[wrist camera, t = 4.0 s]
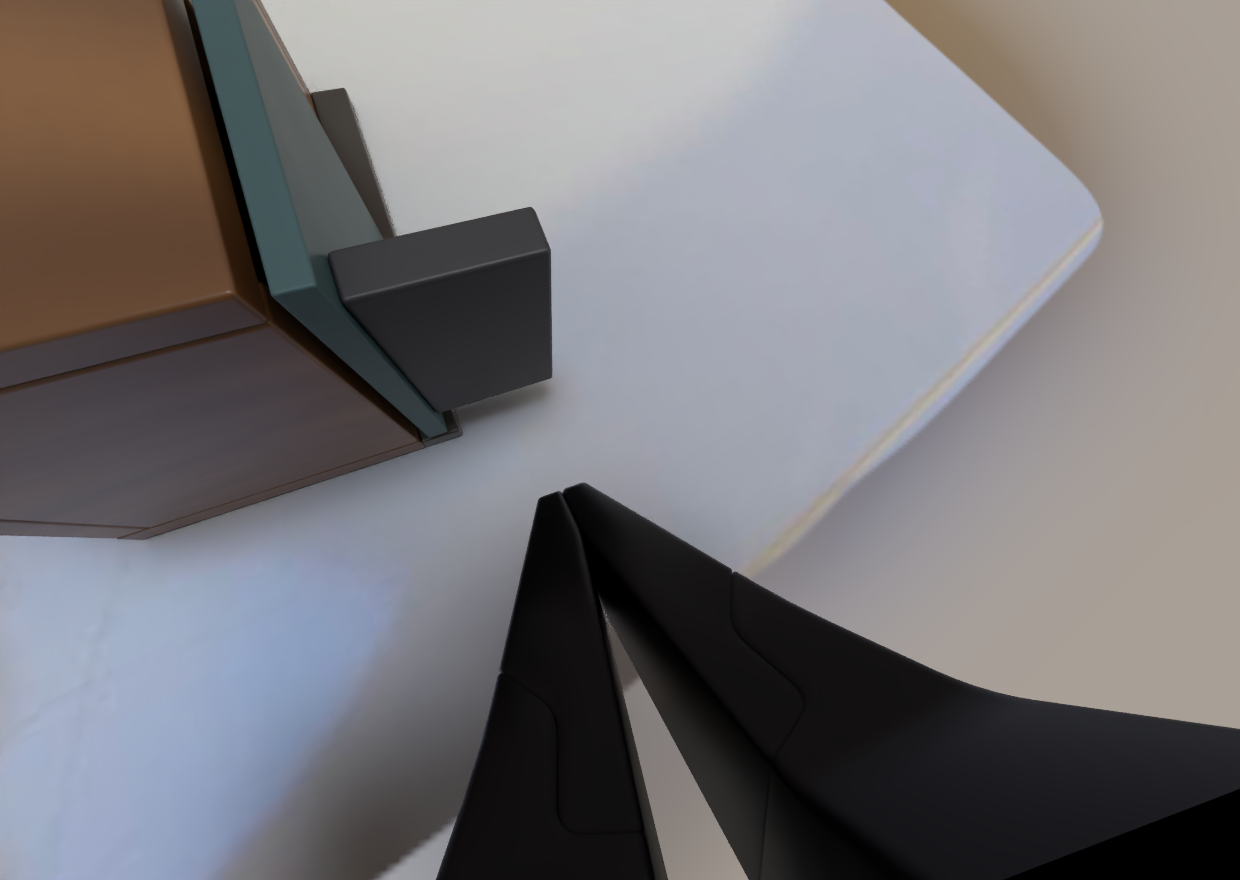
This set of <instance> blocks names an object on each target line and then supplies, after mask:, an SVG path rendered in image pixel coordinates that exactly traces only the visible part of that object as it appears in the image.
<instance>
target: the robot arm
mask: <svg viewBox="0 0 1240 880" xmlns="http://www.w3.org/2000/svg"><path fill="white" fill-rule="evenodd" d="M600 601H601V602H600ZM601 604H602V606H603V608H604V610H605V612H606V614H607V616H608V618H609V620H610V622H611V624H612V626H613V628H614V630H615V632H616V633H617V635H618V637H619V639H620V641H621V643H622V645H623V646H624V648H625V650H626V652H627V654H628V656H629V658H630V659H631V661H632V663H633V665H634V667H635V669H636V671H637V673H638V674H639V676H640V678H641V680H642V682H643V684H644V686H645V687H646V689H647V691H648V693H649V695H650V697H651V698H652V700H653V702H654V704H655V706H656V708H657V710H658V711H659V713H660V715H661V717H662V719H663V721H664V723H665V724H666V726H667V728H668V730H669V732H670V734H671V736H672V738H673V739H674V741H675V743H676V745H677V747H678V749H679V751H680V753H681V754H682V756H683V758H684V760H685V762H686V764H687V765H688V767H689V769H690V771H691V773H692V775H693V776H694V779H695V780H696V782H697V784H698V786H699V788H700V790H701V792H702V793H703V795H704V797H705V799H706V801H707V803H708V805H709V806H710V808H711V810H712V812H713V814H714V816H715V818H716V819H717V821H718V823H719V825H720V827H721V829H722V830H723V833H724V834H725V836H726V838H727V840H728V842H729V844H730V845H731V847H732V849H733V851H734V853H735V855H736V856H737V859H738V860H739V862H740V864H741V866H742V868H743V870H744V871H745V873H746V875H747V877H748V879H749V880H1240V729H1236V728H1228V727H1221V726H1214V725H1207V724H1200V723H1193V722H1186V721H1179V720H1172V719H1165V718H1158V717H1151V716H1143V715H1137V714H1130V713H1123V712H1116V711H1109V710H1101V709H1095V708H1087V707H1080V706H1073V705H1066V704H1059V703H1052V702H1045V701H1038V700H1031V699H1025V698H1019V697H1015V696H1010V695H1006V694H1002V693H997V692H994V691H990V690H987V689H984V688H980V687H977V686H974V685H971V684H968V683H965V682H963V681H960V680H957V679H954V678H952V677H950V676H947V675H945V674H942V673H940V672H938V671H935V670H933V669H931V668H929V667H927V666H925V665H922V664H920V663H918V662H916V661H914V660H912V659H909V658H907V657H905V656H903V655H901V654H899V653H896V652H894V651H892V650H890V649H888V648H886V647H884V646H881V645H879V644H877V643H875V642H873V641H871V640H868V639H866V638H864V637H862V636H860V635H857V634H855V633H853V632H851V631H849V630H847V629H844V628H842V627H840V626H838V625H836V624H834V623H831V622H829V621H827V620H825V619H823V618H821V617H819V616H817V615H815V614H813V613H811V612H809V611H807V610H805V609H803V608H801V607H799V606H797V605H795V604H793V603H791V602H789V601H787V600H785V599H783V598H781V597H780V596H778V595H776V594H774V593H773V592H771V591H769V590H767V589H765V588H763V587H762V586H760V585H758V584H756V583H755V582H753V581H751V580H750V579H748V578H746V577H744V576H743V575H741V574H739V573H738V572H733V573H732V570H731V568H729V567H727V566H726V565H724V564H722V563H720V562H719V561H717V560H715V559H714V558H712V557H710V556H709V555H707V554H705V553H703V552H702V551H700V550H698V549H697V548H695V547H693V546H692V545H690V544H688V543H686V542H685V541H683V540H681V539H680V538H678V537H676V536H675V535H673V534H671V533H670V532H668V531H666V530H664V529H663V528H661V527H659V526H658V525H656V524H654V523H653V522H651V521H649V520H647V519H646V518H644V517H642V516H641V515H639V514H637V513H636V512H634V511H632V510H630V509H629V508H627V507H625V506H624V505H622V504H620V503H619V502H617V501H615V500H614V499H612V498H610V497H608V496H607V495H605V494H603V493H602V492H600V491H598V490H597V489H595V488H593V487H591V486H590V485H588V484H586V483H580V484H577V485H574V486H571V487H568V488H566V489H564V490H563V493H562V492H560V491H557V492H554V493H551V494H549V495H546V496H543V497H541V498H539V500H538V503H537V507H536V512H535V516H534V520H533V525H532V529H531V533H530V538H529V542H528V547H527V551H526V555H525V560H524V564H523V568H522V573H521V577H520V582H519V586H518V590H517V595H516V599H515V603H514V608H513V612H512V616H511V621H510V625H509V630H508V634H507V638H506V643H505V647H504V651H503V656H502V660H501V665H500V674H499V675H498V677H497V681H496V685H495V690H494V694H493V698H492V703H491V707H490V711H489V714H488V718H487V722H486V726H485V730H484V733H483V737H482V741H481V745H480V749H479V752H478V755H477V758H476V761H475V764H474V768H473V771H472V774H471V777H470V780H469V783H468V786H467V790H466V793H465V796H464V799H463V802H462V805H461V808H460V811H459V814H458V817H457V820H456V823H455V826H454V828H453V831H452V834H451V837H450V840H449V843H448V846H447V849H446V852H445V855H444V858H443V860H442V863H441V867H440V869H439V872H438V875H437V878H436V880H668V878H667V874H666V870H665V866H664V861H663V857H662V853H661V849H660V845H659V841H658V836H657V832H656V828H655V824H654V820H653V816H652V812H651V807H650V804H649V799H648V795H647V791H646V787H645V783H644V778H643V774H642V770H641V766H640V762H639V757H638V753H637V749H636V745H635V741H634V737H633V733H632V728H631V724H630V720H629V716H628V712H627V708H626V704H625V699H624V695H623V691H622V687H621V683H620V679H619V674H618V670H617V666H616V662H615V658H614V654H613V649H612V645H611V641H610V637H609V633H608V629H607V625H606V621H605V617H604V613H603V610H602V606H601Z"/></svg>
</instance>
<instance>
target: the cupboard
mask: <svg viewBox="0 0 1240 880" xmlns="http://www.w3.org/2000/svg"><path fill="white" fill-rule="evenodd" d="M253 2H254V4H255V6H256V7H257V9H258V11H259V13H260V15H261V17H262V18H263V20H264V22H265V24H266V26H267V27H268V29H269V31H270V33H271V35H272V37H273V38H274V40H275V42H276V44H277V46H278V48H279V49H280V51H281V53H282V55H283V57H284V58H285V60H286V62H287V64H288V66H289V68H290V69H291V71H292V73H293V75H294V77H295V78H296V80H297V82H298V84H299V86H300V88H301V89H302V91H303V93H304V95H305V97H306V99H307V100H308V102H309V104H310V106H311V108H312V109H313V111H314V113H315V115H316V117H317V119H318V120H319V122H320V124H321V126H322V128H323V129H324V131H325V133H326V135H327V137H328V139H329V140H330V142H331V144H332V146H333V148H334V149H335V151H336V153H337V155H338V157H339V159H340V160H341V162H342V164H343V166H344V168H345V170H346V171H347V173H348V175H349V177H350V179H351V180H352V182H353V184H354V186H355V188H356V190H357V191H358V193H359V195H360V197H361V199H362V200H363V202H364V204H365V206H366V208H367V210H368V211H369V213H370V215H371V217H372V219H373V221H374V222H375V224H376V226H377V228H378V230H379V231H380V233H381V235H382V237H383V239H388V238H393V237H396V234H395V231H394V228H393V225H392V222H391V219H390V216H389V213H388V210H387V207H386V204H385V201H384V198H383V195H382V192H381V189H380V186H379V183H378V180H377V177H376V174H375V171H374V168H373V165H372V162H371V159H370V156H369V153H368V150H367V148H366V145H365V142H364V139H363V136H362V133H361V130H360V127H359V124H358V121H357V118H356V115H355V112H354V109H353V106H352V103H351V100H350V98H349V96H348V94H347V92H346V90H345V89H344V88H339V89H333V90H326V91H319V92H313V93H310V92H309V90H308V88H307V87H306V84H305V83H304V81H303V79H302V77H301V75H300V73H299V71H298V69H297V68H296V66H295V64H294V62H293V60H292V58H291V56H290V54H289V53H288V51H287V49H286V47H285V45H284V43H283V41H282V40H281V38H280V36H279V34H278V32H277V30H276V28H275V26H274V25H273V23H272V21H271V19H270V17H269V15H268V13H267V11H266V10H265V8H264V6H263V4H262V2H261V0H253ZM442 415H443V418H444V421H445V424H446V427H447V430H448V431H447V432H446V433H442V434H439V435H436V436H433V437H428V436H427V435H426V434H425V433H423V432H422V431H421V430H420V429H419V428H418V427H417V426H416V425H415V424H413V423H412V422H411V421H410V420H409V419H408V418H407V417H406V416H405V415H403V414H402V413H401V412H400V411H399V410H398V409H397V408H396V407H394V406H393V405H392V404H391V403H390V402H389V401H388V400H387V399H386V398H384V397H383V396H382V395H381V394H380V393H379V392H378V391H377V390H376V389H374V388H373V387H372V386H371V385H370V384H369V383H368V382H367V381H365V380H364V379H363V378H362V377H361V376H360V375H359V374H358V373H357V372H355V371H354V370H353V369H352V368H351V367H350V366H349V365H348V364H347V363H345V362H344V361H343V360H342V359H341V358H340V357H339V356H338V355H336V354H335V353H334V352H333V351H332V350H331V349H330V348H329V347H328V346H326V345H325V344H324V343H323V342H322V341H321V340H320V339H319V338H318V337H316V336H315V335H314V334H313V333H312V332H311V331H310V330H309V329H308V328H306V327H305V326H304V325H303V324H302V323H301V322H300V321H299V320H297V319H296V318H295V317H294V316H293V315H292V314H291V313H290V312H289V311H287V310H286V309H285V308H284V307H283V306H282V305H281V304H280V303H279V302H277V301H276V300H275V299H274V298H273V297H272V296H271V293H270V290H269V286H268V282H267V279H266V275H265V271H264V268H263V264H262V260H261V256H260V253H259V249H258V245H257V242H256V238H255V234H254V231H253V227H252V223H251V219H250V216H249V212H248V208H247V205H246V201H245V197H244V193H243V190H242V186H241V182H240V179H239V175H238V171H237V168H236V164H235V160H234V156H233V153H232V149H231V145H230V142H229V138H228V134H227V131H226V127H225V123H224V119H223V116H222V112H221V108H220V105H219V101H218V97H217V93H216V90H215V86H214V82H213V79H212V75H211V71H210V68H209V64H208V60H207V56H206V53H205V49H204V45H203V42H202V38H201V34H200V31H199V27H198V23H197V19H196V16H195V12H194V8H193V5H192V1H191V0H0V535H11V536H49V537H86V538H117V539H136V540H143V539H146V538H149V537H152V536H155V535H158V534H161V533H164V532H167V531H170V530H173V529H177V528H180V527H183V526H186V525H189V524H192V523H195V522H198V521H201V520H204V519H207V518H210V517H213V516H216V515H219V514H222V513H226V512H229V511H232V510H235V509H238V508H241V507H244V506H247V505H250V504H253V503H256V502H259V501H262V500H265V499H268V498H271V497H274V496H278V495H281V494H284V493H287V492H290V491H293V490H296V489H299V488H302V487H305V486H308V485H311V484H314V483H317V482H320V481H323V480H327V479H330V478H333V477H336V476H339V475H342V474H345V473H348V472H351V471H354V470H357V469H360V468H363V467H366V466H369V465H372V464H375V463H379V462H382V461H385V460H388V459H391V458H394V457H397V456H400V455H403V454H406V453H409V452H412V451H415V450H418V449H421V448H424V447H425V446H430V445H433V444H436V443H439V442H442V441H445V440H448V439H451V438H454V437H458V436H461V435H462V431H461V428H460V425H459V422H458V419H457V416H456V413H455V410H454V409H451V410H447V411H444V412H442Z"/></svg>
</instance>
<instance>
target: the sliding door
mask: <svg viewBox="0 0 1240 880" xmlns="http://www.w3.org/2000/svg"><path fill="white" fill-rule="evenodd" d="M191 1H192V5H193V8H194V12H195V16H196V19H197V23H198V27H199V31H200V34H201V38H202V42H203V45H204V49H205V53H206V56H207V60H208V64H209V68H210V71H211V75H212V79H213V82H214V86H215V90H216V93H217V97H218V101H219V105H220V108H221V112H222V116H223V119H224V123H225V127H226V131H227V134H228V138H229V142H230V145H231V149H232V153H233V156H234V160H235V164H236V168H237V171H238V175H239V179H240V182H241V186H242V190H243V193H244V197H245V201H246V205H247V208H248V212H249V216H250V219H251V223H252V227H253V231H254V234H255V238H256V242H257V245H258V249H259V253H260V256H261V260H262V264H263V268H264V271H265V275H266V279H267V282H268V286H269V290H270V293H271V296H272V297H273V298H274V299H275V300H276V301H277V302H279V303H280V304H281V305H282V306H283V307H284V308H285V309H286V310H287V311H289V312H290V313H291V314H292V315H293V316H294V317H295V318H296V319H297V320H299V321H300V322H301V323H302V324H303V325H304V326H305V327H306V328H308V329H309V330H310V331H311V332H312V333H313V334H314V335H315V336H316V337H318V338H319V339H320V340H321V341H322V342H323V343H324V344H325V345H326V346H328V347H329V348H330V349H331V350H332V351H333V352H334V353H335V354H336V355H338V356H339V357H340V358H341V359H342V360H343V361H344V362H345V363H347V364H348V365H349V366H350V367H351V368H352V369H353V370H354V371H355V372H357V373H358V374H359V375H360V376H361V377H362V378H363V379H364V380H365V381H367V382H368V383H369V384H370V385H371V386H372V387H373V388H374V389H376V390H377V391H378V392H379V393H380V394H381V395H382V396H383V397H384V398H386V399H387V400H388V401H389V402H390V403H391V404H392V405H393V406H394V407H396V408H397V409H398V410H399V411H400V412H401V413H402V414H403V415H405V416H406V417H407V418H408V419H409V420H410V421H411V422H412V423H413V424H415V425H416V426H417V427H418V428H419V429H420V430H421V431H422V432H423V433H425V434H426V435H427V436H428V437H433V436H436V435H439V434H442V433H446V432H447V431H448V430H447V427H446V424H445V421H444V418H443V415H442V412H444V411H447V410H451V409H454V408H457V407H460V406H463V405H467V404H470V403H473V402H476V401H479V400H483V399H486V398H489V397H492V396H495V395H499V394H502V393H505V392H508V391H511V390H515V389H518V388H521V387H524V386H527V385H531V384H534V383H537V382H540V381H543V380H547V379H550V378H551V377H552V313H551V249H550V247H549V244H548V242H547V239H546V237H545V234H544V232H543V229H542V227H541V224H540V222H539V220H538V217H537V215H536V212H535V211H534V209H533V208H531V207H527V208H523V209H518V210H514V211H509V212H505V213H500V214H496V215H491V216H487V217H482V218H478V219H473V220H469V221H464V222H460V223H455V224H451V225H446V226H442V227H437V228H433V229H428V230H424V231H419V232H415V233H410V234H406V235H401V236H397V237H393V238H388V239H383V237H382V235H381V233H380V231H379V230H378V228H377V226H376V224H375V222H374V221H373V219H372V217H371V215H370V213H369V211H368V210H367V208H366V206H365V204H364V202H363V200H362V199H361V197H360V195H359V193H358V191H357V190H356V188H355V186H354V184H353V182H352V180H351V179H350V177H349V175H348V173H347V171H346V170H345V168H344V166H343V164H342V162H341V160H340V159H339V157H338V155H337V153H336V151H335V149H334V148H333V146H332V144H331V142H330V140H329V139H328V137H327V135H326V133H325V131H324V129H323V128H322V126H321V124H320V122H319V120H318V119H317V117H316V115H315V113H314V111H313V109H312V108H311V106H310V104H309V102H308V100H307V99H306V97H305V95H304V93H303V91H302V89H301V88H300V86H299V84H298V82H297V80H296V78H295V77H294V75H293V73H292V71H291V69H290V68H289V66H288V64H287V62H286V60H285V58H284V57H283V55H282V53H281V51H280V49H279V48H278V46H277V44H276V42H275V40H274V38H273V37H272V35H271V33H270V31H269V29H268V27H267V26H266V24H265V22H264V20H263V18H262V17H261V15H260V13H259V11H258V9H257V7H256V6H255V4H254V2H253V0H191Z"/></svg>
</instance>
